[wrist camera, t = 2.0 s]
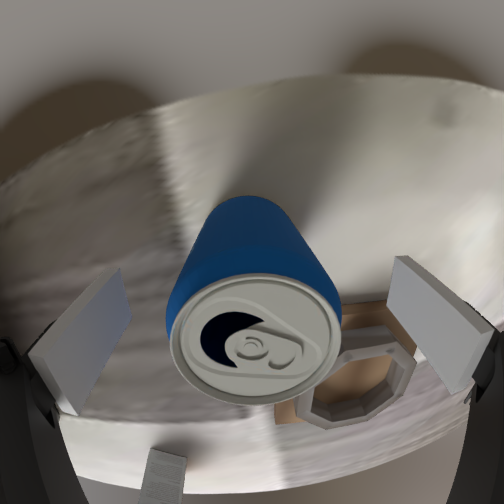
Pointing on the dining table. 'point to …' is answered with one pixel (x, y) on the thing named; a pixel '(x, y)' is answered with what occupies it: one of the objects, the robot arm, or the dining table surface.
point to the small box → (163, 479)
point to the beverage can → (253, 308)
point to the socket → (357, 371)
